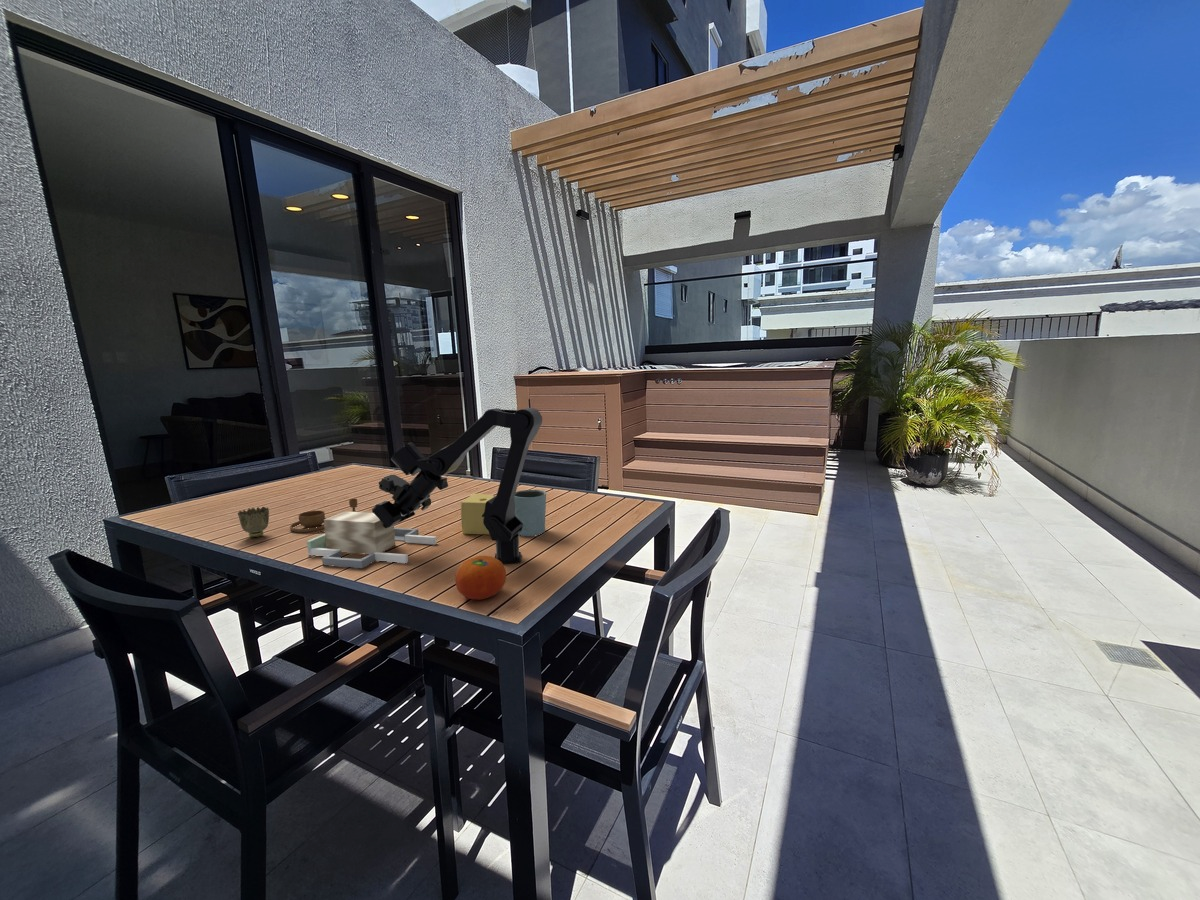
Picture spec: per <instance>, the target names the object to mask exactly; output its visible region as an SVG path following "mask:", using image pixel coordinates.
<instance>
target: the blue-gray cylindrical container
mask: <svg viewBox="0 0 1200 900" xmlns="http://www.w3.org/2000/svg"><path fill="white" fill-rule="evenodd" d="M514 499H515V516H516V517H517V518H518V519H519V520H520V521H521V522H522V523H523V528H522V531H521V532H519V533H518V535H521V536H520V537H523V536H535V535H539V534H542V533H543V532H544V533H545V532H546V514H547V513H546V512H547V511H546V507H547V506H546V505H547V492H546V491H544V490H541V489H523V490H516V493H515V498H514ZM542 535H543V534H542ZM535 537H536V536H535Z"/></svg>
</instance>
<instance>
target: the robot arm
mask: <svg viewBox="0 0 1200 900" xmlns="http://www.w3.org/2000/svg"><path fill="white" fill-rule="evenodd" d="M542 424H543V415H542V414H541V412H540V411H539V410H538V409H537V408H535V407H525V408H522V409H518V410H517V409H502V408H499V407H498V408H497V407H495V408H490V409H487V410H485V412H484V413H483V415H481V416H480V417H479V418H478V419H477V420H476V421H475V422H474V423H472V425H470V426H469V428H467V429H466V430H465V431H464V432H463V433H462V434H461V435H460V436H458V437H457V439H455V440H454V441H453V442H452V443H451V444H448V445H447V446H445V447H443V448H440V449H439V450H437V451H436V452H435V453H433V454H431V455H428V456H425V455H424V454H423V453H422V452H421V451H420V450H419V448H418V447H416V445H415V444H414V443H413V442H408V443H407V444H405V446H403V447H401V448H400V449H398V450H397V451H395V452H394V453H393V454H392V456H391V457H390V460H391V461H392V462H393V464H395V465H396V467H398V468H399V470H400V471H401V472H402V473H403V474H404V475H405V476H409V475H411V476H412V477H413V476H414V478H413V479H411V481H410V482H408V481H407V480H405V479H404V478H401V477H400V476H398V475H396V474H389V475H387V476H384V477H383V478H381V480H380V481H379V482H378V485H379V486H378V488H379V490H381V491H383V492H384V493H388V494H390V495H392V496H391V499H392V500H393V503H392V502H391V501H390V500H384V501H382V502H379V503H377V504H375V506H373V508H372V510H371V513H374V514H375V515H376V516H377V517H378V518H379V519H380V520H381V521H382V522H383V526H384V527H385V528H388V527H391V526H393V525H394V526H395V525H397V524H399V523H402V522H403V521H405V520H407V519H410V518H411V517H413V516H415V515H416V512H415V511H417V510H421V511H426V509H428V508H429V507H430V506H431V505H432V499H431V498H430V497H431V495H430V494H432V493H433V491H435V490H436V489H438V490H439V491H442V490H444V489H447V488H449V483H448V477H443V476H445V475H446V474H450V473H452V472H454V471H456V470H457V469H458V468H459V466H461V464H462V463H463V461H464V459H465V457H466V455H467V454H468V452H469V451H471V450H472V449H473V448H474V447H475V446H476V445H478V443H480V442H481V440H483V439H484V438H485V437H487V435H489V433H490V432H492V431H493V430H494V429H495V428H496V427H502V428H507V429H509V435H510V444H509V445H510V446H509V449H508V453H507V456H506V461H505V464H504V467H503V471H502V474H501V478H500V482H499V485H498V488H497V492H496V495H494V496H495V497H493V498H492V499H490V500H488V501H487V502H486V504H485V511H484V514H483V515H482V517H484V519H483V524H484V525H485V527H486V529H487V530H488V531H489V534H488V535H490V538H491V540H492V541H493V542H495V551H496V552H495V553H494V554H495V555H494V558H496V559H498V560H499V561H501V562H502V564H503V565H504V564H513V563H514V564H517V563H521V561H522V557H521V556H522V555H521V554H522V552H521V551H520V536H519V535H518V533H519V532H521V531H522V528H523V523H522V522H521V521H520V520H519V519H518V518H517V517H516V516H515V499H514V498H515V493H516V492H517V491H518V490H517V489H518V486H519V482H520V479H521V475H522V471H523V468H524V466H525V462H526V461H525V460H526V459H527V454H528V451H529V447H530V446H531V443H532V442H533V440H534V439H535V437H536V436H537V434H538V432H539V430H540V428H541V426H542Z"/></svg>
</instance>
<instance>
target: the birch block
mask: <svg viewBox="0 0 1200 900" xmlns="http://www.w3.org/2000/svg"><path fill="white" fill-rule="evenodd" d="M328 517H329V518H328ZM328 517H326V518H327V519H324V522H323V524H324V525H323V526H324V527H325V529H324V530H325V533H324V534H325V538H326V549H340V550H341V552H347V553H346V554H352V553H365V554H371V553H375V552H380V553H381V552H382V553H384V552H386V551H387V550H389V549H391V548H393V547H394V545H395V546H396V541H395V534H394V528H395V525H393V526H391V527H388V528H385V527H384V526H383V522H382V521H381V520H380V519H379V518H378V517H377V516H376V515H375V514H374V513H373V512H363V511H356V512H352V511H349V510H348V511H342V512H339V513H338V514H335V515H332V516H328ZM392 546H393V547H392ZM385 550H386V551H385ZM383 551H384V552H383ZM365 554H364V555H365Z"/></svg>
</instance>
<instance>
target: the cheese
mask: <svg viewBox="0 0 1200 900" xmlns="http://www.w3.org/2000/svg"><path fill="white" fill-rule="evenodd" d="M495 496H496V495H494V494H486V493H485V494H484V493H471V494H470V496H468V497H467V498H466V499H465V500H463V501H461V504H460V517H461V519H460V520H461V531H462V534H463V535H490V534H489V531H488V530H487V529H486V527H485V525H484V524H483V519H484V517H482V515H483V514H484V511H485V504H486V502H487V501H488V500H490V499H492V498H493V497H495Z"/></svg>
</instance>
